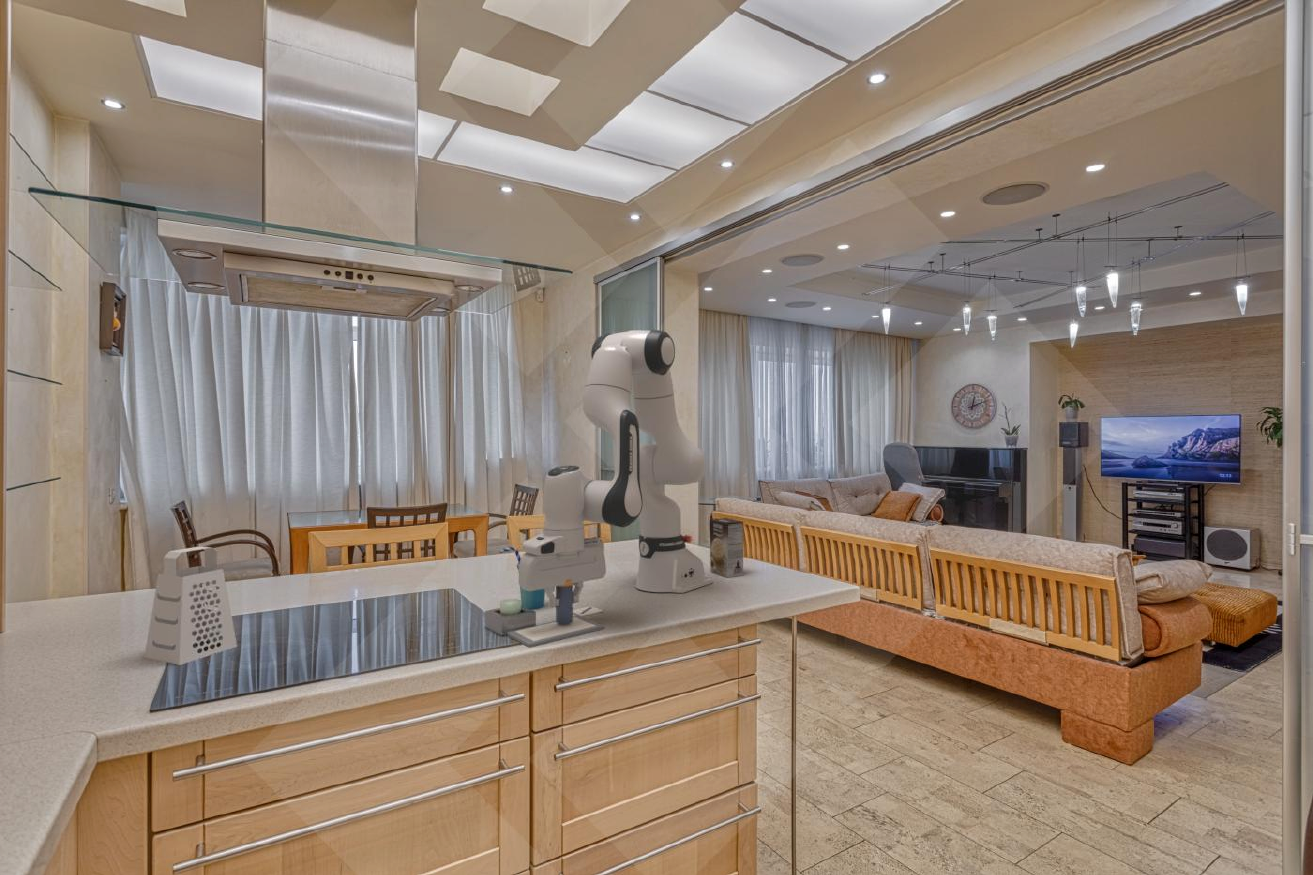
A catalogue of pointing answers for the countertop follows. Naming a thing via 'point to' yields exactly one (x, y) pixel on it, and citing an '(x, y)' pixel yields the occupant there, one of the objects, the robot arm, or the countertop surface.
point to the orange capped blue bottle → (565, 603)
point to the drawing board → (553, 631)
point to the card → (586, 611)
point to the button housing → (509, 620)
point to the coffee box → (726, 547)
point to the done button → (510, 607)
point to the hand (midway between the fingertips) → (564, 604)
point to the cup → (528, 597)
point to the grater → (189, 611)
